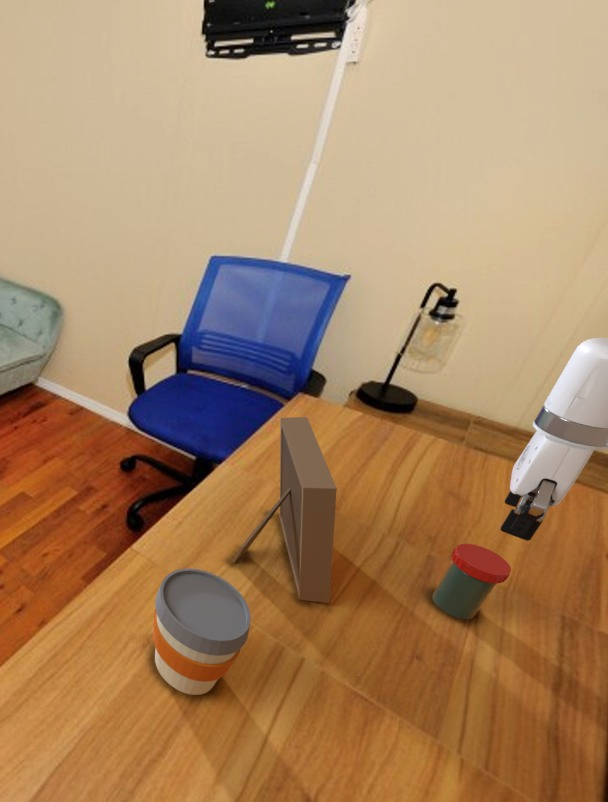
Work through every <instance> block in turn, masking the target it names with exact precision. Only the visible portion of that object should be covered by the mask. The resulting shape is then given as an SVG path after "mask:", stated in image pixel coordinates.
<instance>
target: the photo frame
mask: <svg viewBox="0 0 608 802" xmlns="http://www.w3.org/2000/svg"><path fill="white" fill-rule="evenodd" d="M279 429H280V432H279V433H280V434H279V435H280V436H279V437H280V438H279V439H280V440H279V499H278V500H277V501H276V503H275V504H274V505H273V507H271V509H270V510H269V511H268V512H267V514H266V515H265V516H264V517H263V519H262V520H261V521H260V522H259V524H258V525H257V526H256V527H255V529H254V530H253V531H252V532H251V533H250V535H249V536H248V537H247V538H246V539H245V541H243V543H242V545H241V546H240V547H239V549H238V550H237V552H236V554H235V555H234V557H233V559H232V560H231V562H232V563H236V561H238V560H239V559H240V558H241V557H243V555H245V553H247V551H248V549H250V547H251V546H252V544H253V543H254V542H255V540H256V539H257V538H258V536H259V535H260V534H261V532H262V531H263V530H264V529H265V527H266V526H267V524H268V523H269V521H270V520H271V519H272V518H273V517H274V515H275V513H276V512H277V511H278V510H279V521H280V525H281V529H282V533H283V538H284V542H285V546H286V550H287V554H288V557H289V561H290V566H291V570H292V573H293V579H294V583H295V586H296V591H297V595H298V599H299V601H306V602H307V601H309V602H316V603H326V604H330V599H331V597H330V596H331V581H332V566H333V552H334V551H333V550H334V535H335V523H336V522H335V521H336V508H337V507H336V503H337V489H338V488H337V486H336V484H335V481H334V478H333V476H332V474H331V472H330V469H329V467H328V464H327V461H326V459H325V457H324V455H323V452H322V449H321V447H320V445H319V443H318V440H317V437H316V435H315V432H314V430H313V427H312V425H311V423H310V421H309V418H308V416H303V417H301V416H300V417H299V416H298V417H297V416H295V417H280V427H279Z"/></svg>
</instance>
